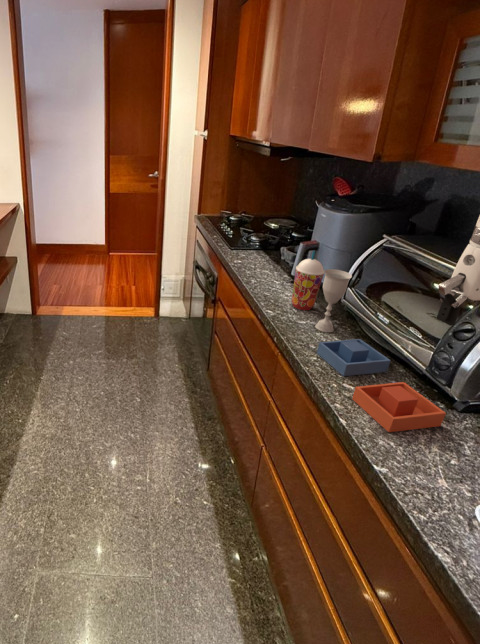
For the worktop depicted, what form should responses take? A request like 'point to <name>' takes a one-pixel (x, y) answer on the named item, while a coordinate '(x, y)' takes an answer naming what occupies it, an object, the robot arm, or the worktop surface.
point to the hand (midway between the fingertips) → (466, 320)
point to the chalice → (332, 294)
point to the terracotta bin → (421, 417)
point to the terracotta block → (397, 401)
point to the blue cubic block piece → (352, 352)
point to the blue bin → (371, 365)
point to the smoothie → (307, 283)
